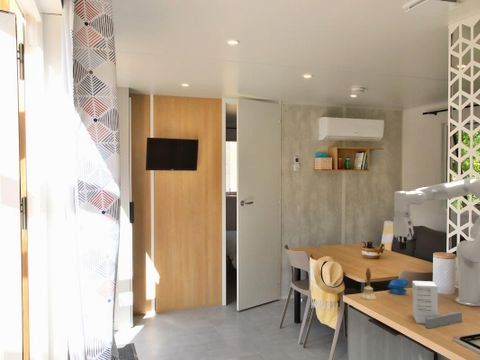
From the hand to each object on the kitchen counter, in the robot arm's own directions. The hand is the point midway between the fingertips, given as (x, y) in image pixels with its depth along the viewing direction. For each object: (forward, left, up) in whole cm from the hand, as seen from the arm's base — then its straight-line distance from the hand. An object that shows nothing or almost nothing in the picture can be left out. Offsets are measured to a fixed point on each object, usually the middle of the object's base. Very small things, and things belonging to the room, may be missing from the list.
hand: (402, 249), depth 208 cm
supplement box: (+12, +25, -27) cm, 39 cm away
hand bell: (+12, -13, -27) cm, 33 cm away
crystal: (-8, -12, -27) cm, 31 cm away
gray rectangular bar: (+9, +32, -27) cm, 43 cm away
